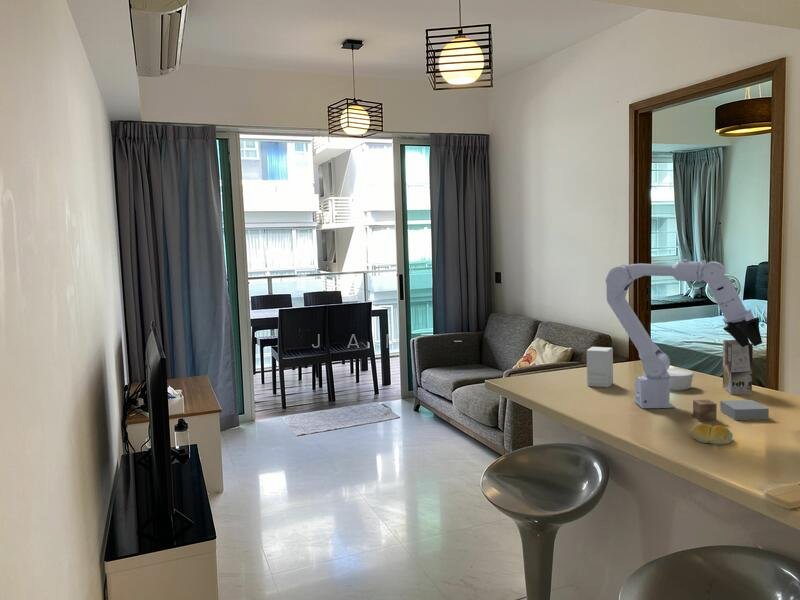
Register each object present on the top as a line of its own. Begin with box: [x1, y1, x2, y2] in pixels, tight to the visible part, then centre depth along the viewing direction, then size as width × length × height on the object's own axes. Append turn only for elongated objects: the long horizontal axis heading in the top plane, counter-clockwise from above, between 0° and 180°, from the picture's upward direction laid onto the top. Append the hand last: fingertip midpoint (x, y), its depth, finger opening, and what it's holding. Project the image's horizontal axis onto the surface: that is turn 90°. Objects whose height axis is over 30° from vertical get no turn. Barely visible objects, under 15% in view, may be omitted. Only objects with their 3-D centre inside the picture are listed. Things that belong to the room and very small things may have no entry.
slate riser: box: [719, 399, 770, 421], centre depth 179 cm, size 9×9×3 cm
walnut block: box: [692, 399, 718, 423], centre depth 176 cm, size 4×4×5 cm
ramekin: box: [667, 368, 694, 391], centre depth 212 cm, size 11×11×5 cm
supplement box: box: [585, 346, 614, 388], centre depth 219 cm, size 7×7×13 cm
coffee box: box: [722, 339, 754, 396], centre depth 203 cm, size 9×6×16 cm
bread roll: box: [691, 423, 734, 446], centre depth 160 cm, size 8×9×4 cm
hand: (752, 345), depth 177 cm, fingers open, 7 cm apart
